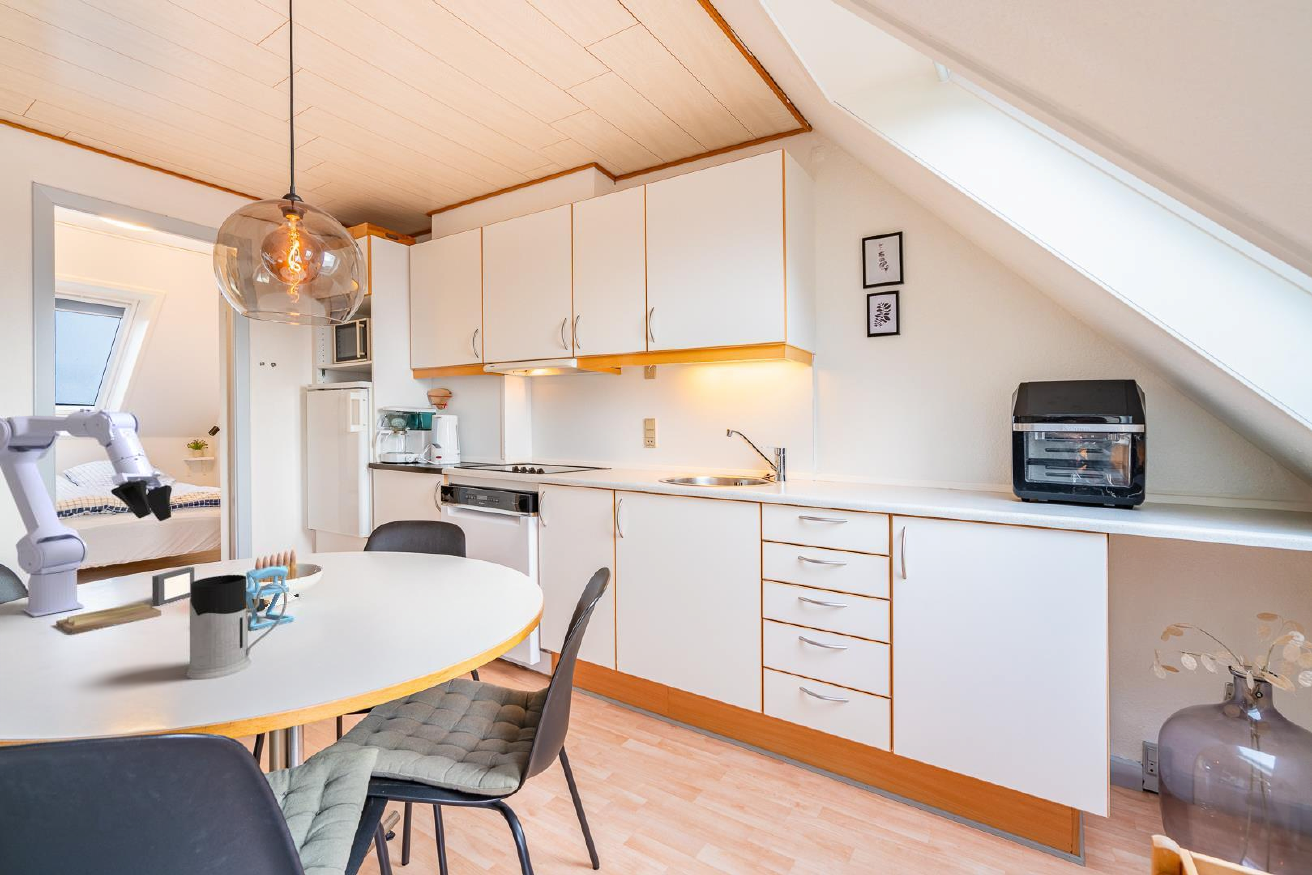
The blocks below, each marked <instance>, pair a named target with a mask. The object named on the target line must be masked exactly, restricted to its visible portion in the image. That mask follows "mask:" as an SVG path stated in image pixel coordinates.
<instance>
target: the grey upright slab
mask: <svg viewBox="0 0 1312 875" xmlns="http://www.w3.org/2000/svg"><path fill="white" fill-rule="evenodd" d="M151 579H152V580H151V581H152V582H151V584H152V586H151V587H152V588H151V589H152V591H151V593H152V597H151V598H152V599H151V600H152V604H151V605H152V606H151V607H153V606H160V605H163V604H166V603H169V604H171V602H172V603H175V602H174V601H176V602H178V601H177V600H179V601H181V600H180V599H182V600H184V599H188V598H190V596H191V583H192V582H194V581H195V567H194V566H192V567H191V566H187V567H184V568H180V569H175V570H172V571H167V572H163V573H160V574H159V573H158V574H155V575H152V578H151ZM166 605H167V604H166ZM163 606H164V605H163ZM160 607H161V606H160Z"/></svg>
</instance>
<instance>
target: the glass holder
mask: <svg viewBox="0 0 1312 875" xmlns="http://www.w3.org/2000/svg"><path fill="white" fill-rule="evenodd" d="M267 586H278V587H280V588H281V589H282V590H283V592H284V604H283V606H282V610H281V612H280V613H279V614H280V616H279V618H278V619H276V620H277V621H276V623H275V624H274V625H273V626H271V627H269V629H268V630H267V631H265V633H263V634H262V635H260V636H259V637H258V638H257V639H256V640H254V642H252V643H251V644H250V645H249V644H248V643H249V638H248V636H249V629H248V626H249V623H248V621H249V620H248V619H249V617H248V615H249V614H248V613H249V612H251V610H254V609H256V608H257V607H258V605H259V600H260V594H261V592H262V590H263V589H264V588H266V587H267ZM246 589H247V576H246V575H242V574H224V575H215V576H210V577H204V578H200V579H197V580H194V582H192V583H191V596H190V597H189V668H188V670H187V672H186V677H187V678H188V679H191V680H211V679H217V678H222V677H226V676H231V675H234V674H236V673H239V672H240V671H243V670H245V669H247V668H248V667H249V666H251V665H252V660H251V659H250V657H249V655H250V652H251V649H252V648H253V646H255V645H256V644H257V643H258V642H260V641H261V640H262V639H263V638H265V637H266V636H267V635H269V633H270V632H272V631H273V630H274V629H275V628H276V627H277V626H278V625H277V624H278V623H279V621H280V620H281V618H282V616H283V615H285V611H286V607H287V604H288V603H287V593H286V590H285V588H284V587H283V586H282V585H280V584H276V583H270V584H267V585H265V586H263V587H262V588H261V589H260V590H259V592H258V594H257V598H256V606H255V607H253V608H249V605H247V598H246Z"/></svg>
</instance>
